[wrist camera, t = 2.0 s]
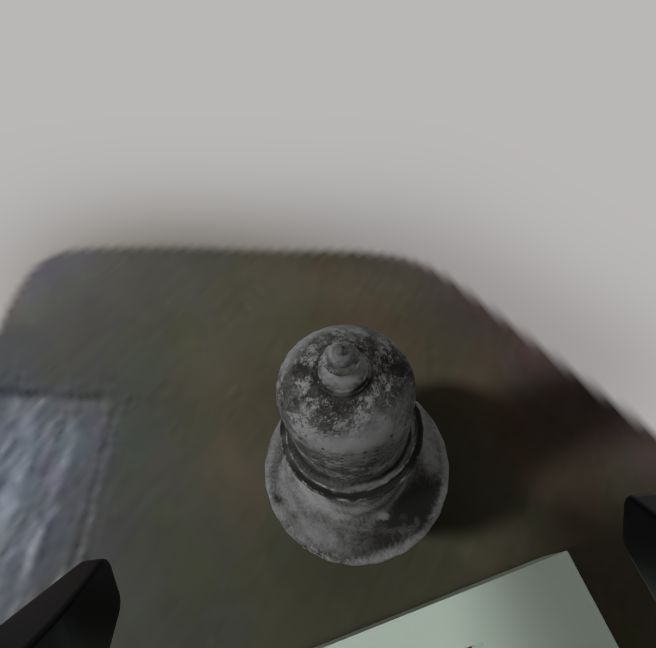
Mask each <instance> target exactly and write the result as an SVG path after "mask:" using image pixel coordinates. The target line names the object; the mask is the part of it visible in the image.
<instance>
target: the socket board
mask: <svg viewBox="0 0 656 648" xmlns="http://www.w3.org/2000/svg"><path fill="white" fill-rule="evenodd" d="M469 646H472V648H619V647H618V645H617V643H616V642H615V640H614V638H613V636H612V634H611V632H610V630H609V628H608V626H607V625H606V623H605V621H604V619H603V617H602V615H601V613H600V611H599V610H598V608H597V606H596V604H595V602H594V600H593V598H592V596H591V594H590V593H589V591H588V589H587V587H586V585H585V583H584V581H583V579H582V578H581V576H580V574H579V572H578V570H577V568H576V566H575V564H574V563H573V561H572V559H571V557H570V555H569V553H568V551H563V552H559V553H555V554H551V555H547V556H543V557H540V558H538V559H535V560H532V561H530V562H527V563H525V564H522V565H520V566H517V567H515V568H512V569H510V570H507V571H505V572H502V573H500V574H497V575H495V576H492V577H490V578H487V579H485V580H482V581H480V582H477V583H475V584H472V585H470V586H467V587H465V588H462V589H460V590H457V591H455V592H452V593H449V594H447V595H444V596H442V597H439V598H437V599H434V600H432V601H429V602H427V603H424V604H422V605H419V606H417V607H414V608H412V609H409V610H407V611H404V612H402V613H399V614H397V615H394V616H392V617H389V618H387V619H384V620H382V621H379V622H377V623H374V624H372V625H369V626H366V627H364V628H361V629H359V630H356V631H354V632H351V633H349V634H346V635H344V636H341V637H339V638H336V639H334V640H331V641H329V642H326V643H324V644H321V645H319V646H316V647H314V648H467V647H469Z"/></svg>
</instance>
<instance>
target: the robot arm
mask: <svg viewBox="0 0 656 648" xmlns="http://www.w3.org/2000/svg"><path fill="white" fill-rule="evenodd" d="M623 540H624V544H625V547H626V550H627V552H628V554H629V555H630V557H631V559H632V561H633V562H634V564H635V566H636V568H637V569H638V571H639V573H640V575H641V576H642V578H643V580H644V582H645V584H646V585H647V587H648V589H649V591H650V592H651V594H652V596H653V598H654V599H655V601H656V495H655V494H650V493H648V494H639V495H631V496H629V497H627V498H626V500H625V503H624V521H623ZM119 610H120V594H119V591H118V588H117V584H116V581H115V578H114V575H113V571H112V568H111V565H110V563H109V562H108V561H107V560H106V559H96V560H88V561H83V562H81V563H80V564H78V565H77V566H76V567H74V568H73V569H72V570H70V571H69V572H68V573H67V574H65V575H64V576H63V577H62V578H60V579H59V580H58V581H56V582H55V583H54V584H53V585H51V586H50V587H49V588H47V589H46V590H45V591H44V592H42V593H41V594H40V595H38V596H37V597H36V598H35V599H33V600H32V601H31V602H29V603H28V604H27V605H26V606H24V607H23V608H22V609H21V610H19V611H18V612H17V613H15V614H14V615H13V616H12V617H10V618H9V619H8V620H6V621H5V622H4V623H3V624H1V625H0V648H110V645H111V641H112V637H113V634H114V630H115V626H116V622H117V618H118V615H119Z"/></svg>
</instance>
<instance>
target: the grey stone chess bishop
mask: <svg viewBox="0 0 656 648" xmlns="http://www.w3.org/2000/svg"><path fill="white" fill-rule="evenodd" d="M276 395H277V406H278V409H279V412H280V415H281V419H280V421H279V423H278V425H277V427H276V429H275V431H274V433H273V434H272V436H271V438H270V442H269V447H268V451H267V455H266V460H265V479H266V489H267V492H268V496H269V499H270V502H271V506H272V509H273V511H274V513H275V514H276V516H277V518H278V519H279V521H280V523H281V524H282V526H283V527H284V529H285V531H286V532H287V533H288V534H289V535H290V536H291V537H292V538H293V539H295V540H296V541H297V542H298V543H299V544H300V545H301V546H302V547H303V548H304V549H305V550H307V551H309V552H311V553H313V554H315V555H317V556H319V557H321V558H323V559H325V560H327V561H330V562H335V563H340V564H346V565H351V566H360V565H369V564H379V563H382V562H385V561H387V560H390V559H392V558H394V557H397V556H399V555H402V554H404V553H405V552H407V551H408V550H409V549H410V548H412V547H413V546H414V545H415V544H416V543H418V542H419V541H420V540H421V539H423V538H424V537H425V536H426V534H427V533H428V531H429V530H430V528H431V527H432V525H433V524H434V523H435V521H436V520H437V518H438V517H439V515H440V512H441V509H442V507H443V504H444V501H445V498H446V495H447V492H448V478H449V463H448V458H447V453H446V448H445V443H444V440H443V438H442V436H441V434H440V432H439V430H438V428H437V426H436V424H435V422H434V420H433V419H432V418H431V417H430V416H429V414H428V413H427V412H426V411H425V410H424V409H423V407H422V406H421V405H420V404H419V403H418V402H417V401H415V399H416V384H415V379H414V374H413V371H412V368H411V366H410V364H409V362H408V360H407V358H406V356H405V354H404V353H403V352H402V350H401V349H400V348H399V347H398V346H397V345H396V344H395V343H394V342H393V341H392V340H391V339H389V338H388V337H386V336H385V335H383V334H381V333H380V332H378V331H375V330H372V329H369V328H367V327H364V326H356V325H347V324H345V325H337V326H329V327H326V328H323V329H320V330H318V331H315V332H313V333H311V334H310V335H308V336H306V337H305V338H303V339H302V340H300V341H299V342H298V343H297V344H296V345H295V346H294V347H293V348H292V349H291V350H290V352H289V353H288V354H287V356H286V358H285V360H284V362H283V363H282V365H281V367H280V371H279V375H278V380H277V385H276Z"/></svg>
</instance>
